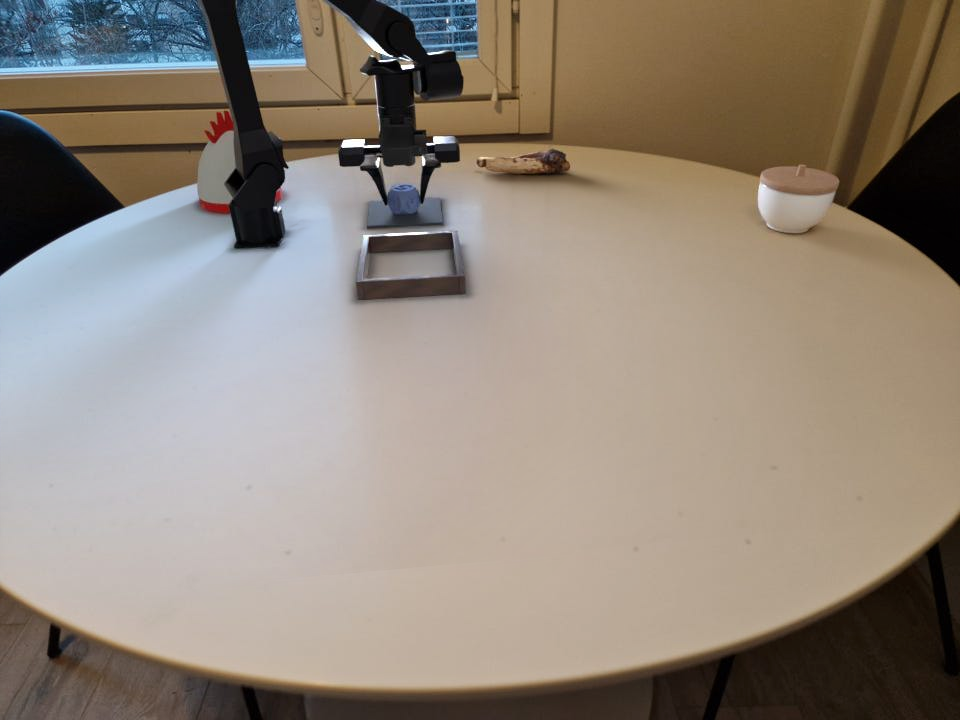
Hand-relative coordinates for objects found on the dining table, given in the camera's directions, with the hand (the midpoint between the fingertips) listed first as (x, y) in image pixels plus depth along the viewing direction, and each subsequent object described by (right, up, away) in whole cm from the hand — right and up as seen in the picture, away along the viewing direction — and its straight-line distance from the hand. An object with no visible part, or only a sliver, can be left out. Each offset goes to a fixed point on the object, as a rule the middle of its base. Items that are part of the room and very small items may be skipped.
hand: (404, 204), depth 107 cm
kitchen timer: (-30, +3, +8) cm, 31 cm away
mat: (0, -1, +1) cm, 2 cm away
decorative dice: (0, -1, +1) cm, 1 cm away
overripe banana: (+21, +11, +20) cm, 31 cm away
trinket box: (+60, -5, -7) cm, 61 cm away
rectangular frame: (+3, -14, -18) cm, 23 cm away
